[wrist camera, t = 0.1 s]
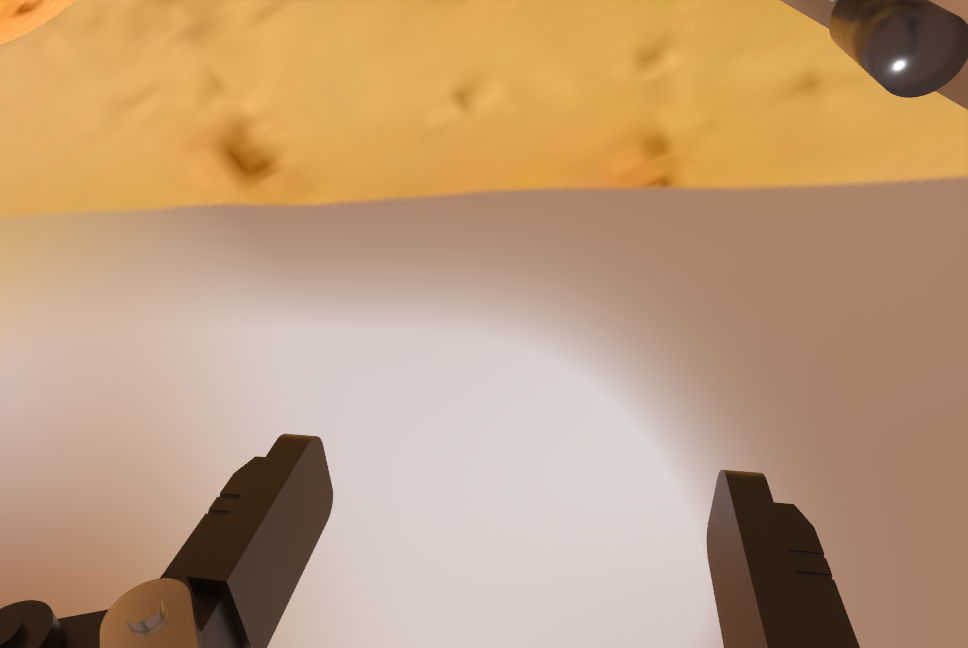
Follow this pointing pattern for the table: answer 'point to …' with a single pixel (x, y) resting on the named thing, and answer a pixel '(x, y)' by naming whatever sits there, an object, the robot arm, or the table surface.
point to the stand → (964, 3)
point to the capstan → (902, 42)
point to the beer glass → (26, 16)
